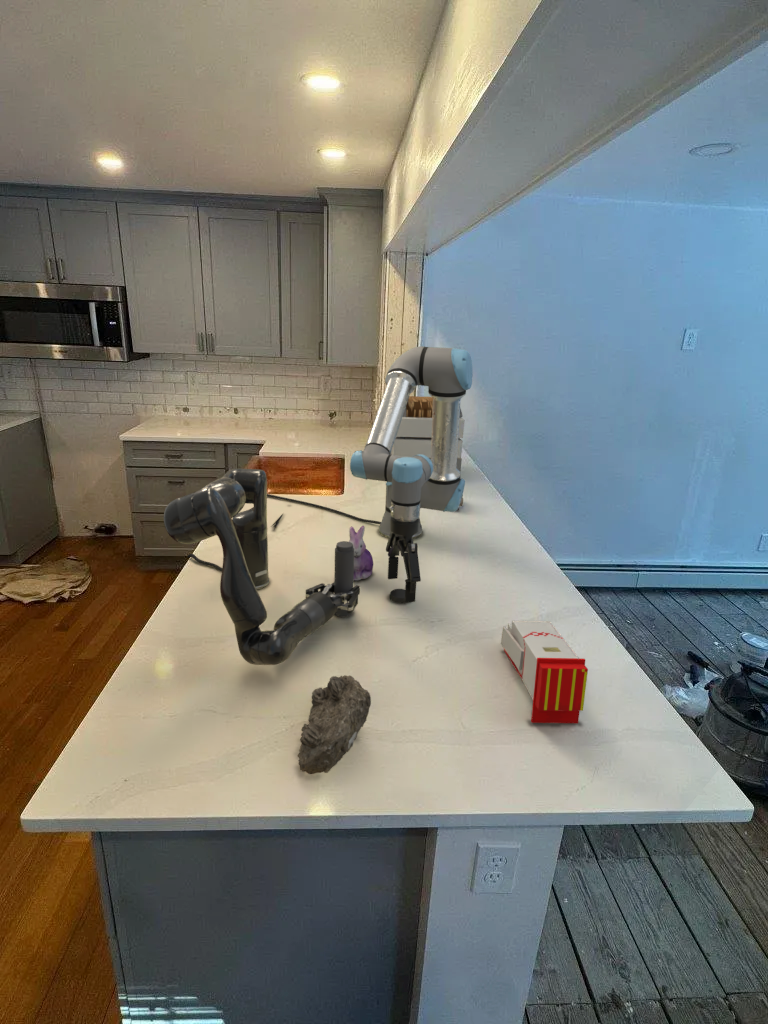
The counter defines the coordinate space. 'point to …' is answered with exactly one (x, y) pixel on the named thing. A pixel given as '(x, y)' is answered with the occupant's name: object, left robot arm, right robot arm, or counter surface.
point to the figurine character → (461, 502)
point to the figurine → (360, 555)
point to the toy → (547, 670)
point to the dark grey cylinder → (343, 571)
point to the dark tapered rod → (277, 521)
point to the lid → (397, 595)
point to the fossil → (333, 723)
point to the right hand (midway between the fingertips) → (400, 589)
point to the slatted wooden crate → (420, 430)
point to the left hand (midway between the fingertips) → (349, 586)
